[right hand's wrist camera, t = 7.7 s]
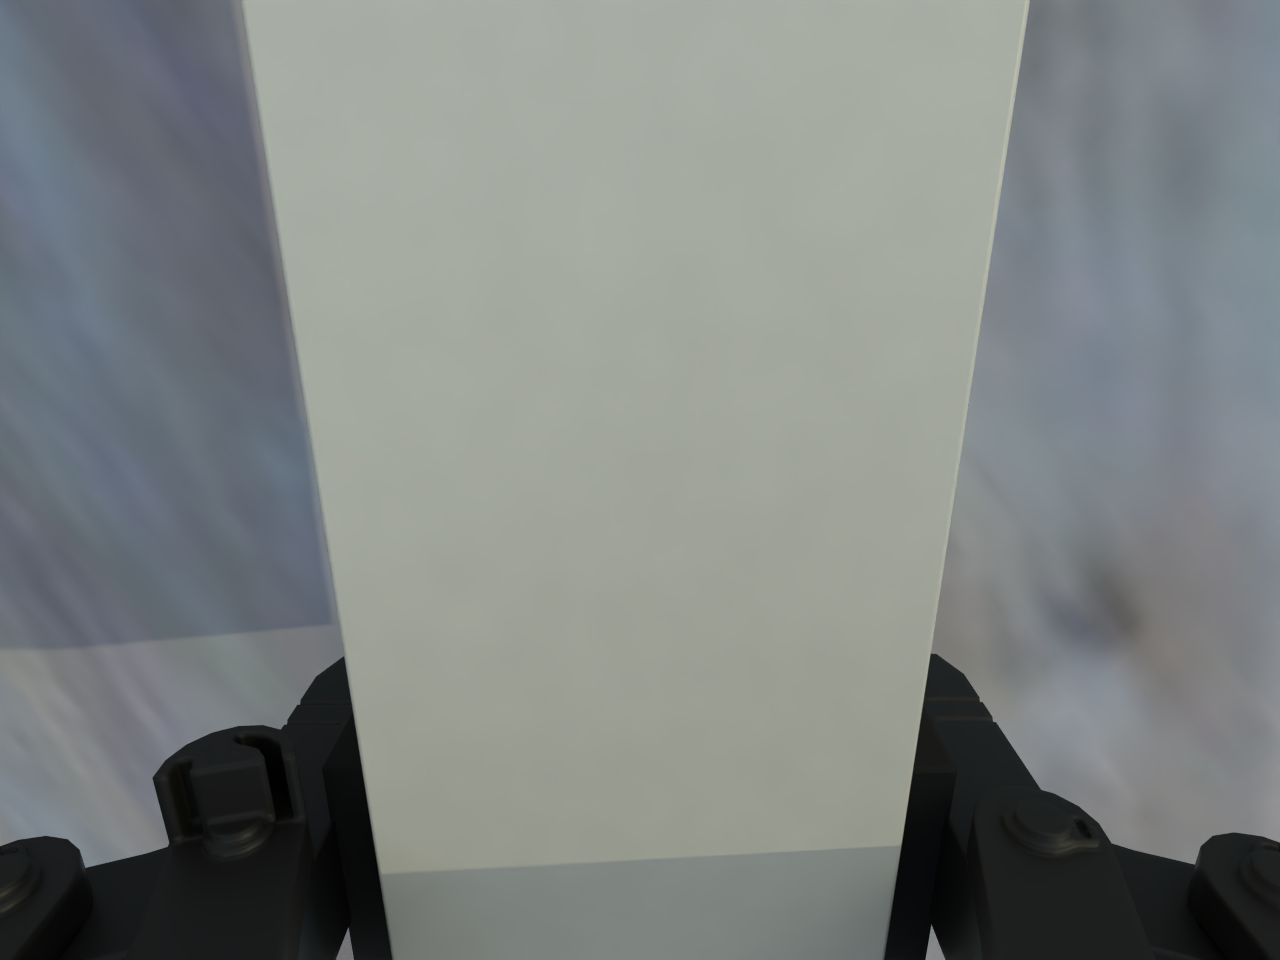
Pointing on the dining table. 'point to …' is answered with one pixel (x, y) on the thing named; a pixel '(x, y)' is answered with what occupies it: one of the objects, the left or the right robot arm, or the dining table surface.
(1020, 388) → the dining table surface
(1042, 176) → the dining table surface
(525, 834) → the bar
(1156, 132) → the dining table surface
